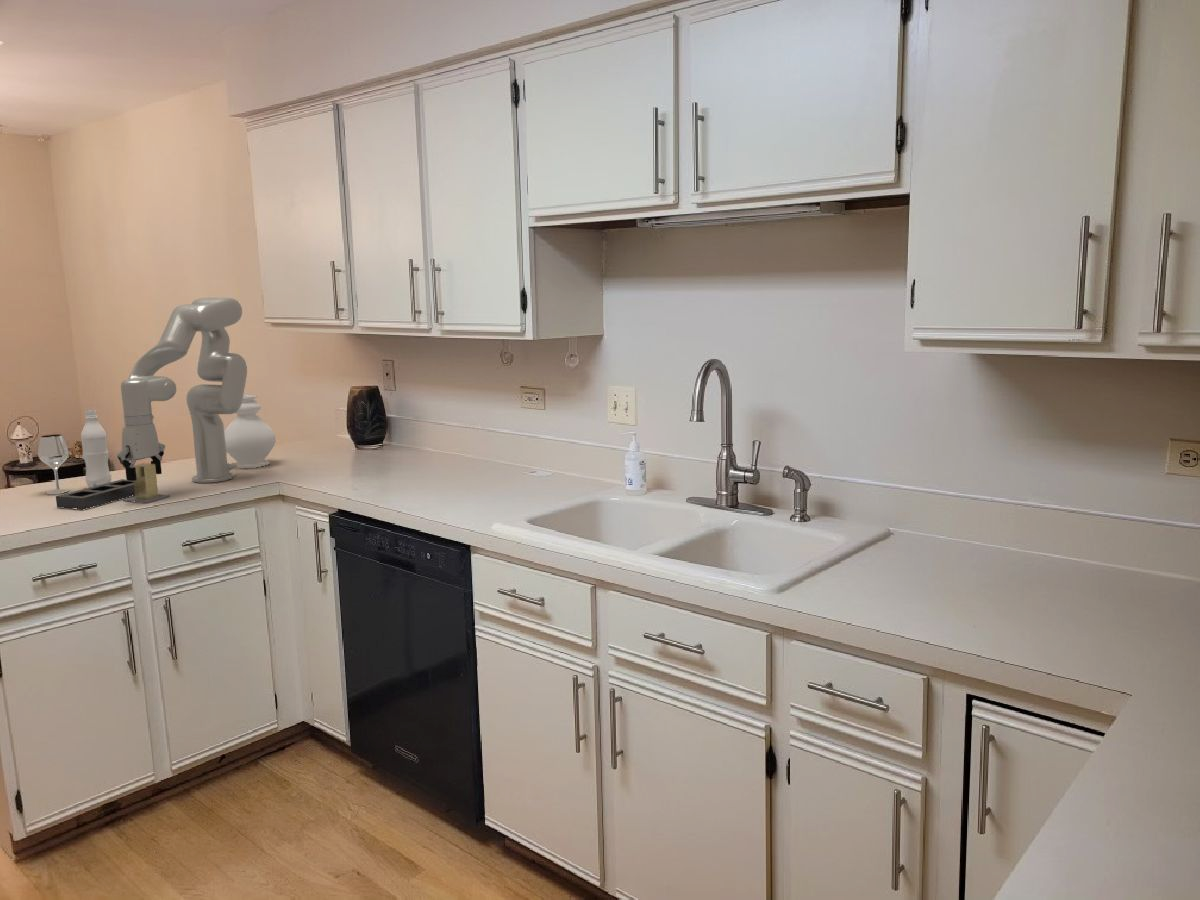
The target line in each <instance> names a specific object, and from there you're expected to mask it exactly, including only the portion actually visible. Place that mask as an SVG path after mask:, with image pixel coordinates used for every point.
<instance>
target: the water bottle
mask: <svg viewBox="0 0 1200 900" xmlns="http://www.w3.org/2000/svg"><path fill="white" fill-rule="evenodd" d="M98 418H99V416H98V413H97V410H96V409H87V410H85V417H84V419H85V424H84V426H83V429H82V430H81V434H80V439H81V447H82V458H83V460H84V463H85V482H86V485H87V487H88V488H90V487H94V486H98V485H102V484H106V483H110V482H112V475H111V472H110V468H109V454H110V453H109V449H108V442H107V441H108V440H107V433H106V431H105V429H104V427H103V426H102V425H101V423H100V421H99V419H98Z"/></svg>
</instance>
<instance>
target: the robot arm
mask: <svg viewBox="0 0 1200 900" xmlns="http://www.w3.org/2000/svg"><path fill="white" fill-rule="evenodd" d="M242 315H243V307H242V305H241V303H240V302H239V301H238V300H237V299H235V298H232V297H201V298H195V299H194V300H193V301H192V302H191V304H180V305H177V306H176V307H175V308H173V310H172V311H171V314H170V316H169V319H168V320H167V323H166V325H165V327H164V330H163V332H162V334H161V336H160V339H159V341H158V342H157V344H155V345H154V346H153V347H152V348H150V349H149V350H148V351H146V352H145V353H144V354H143V355H142V356H141V357H140V358H139V359H138V360H137V361H136V363H135V364H134V366H133V367H132V370H131V372H130V374H129V376H128V379H124V380H122V381H121V383H120V392H121V393H120V394H121V400H122V410H123V421H124V426H122V430H121V451H120V452H118V453H117V454H116V458H117V459H118V461H119V464H121V465H122V467H123V468H124V470H125V478H126V479H125V480H129V481H136V480H137V478H136V468H135V467H133V466H134V465H136V462H137V461H140V460H144V459H148V458H150V459H151V461H150V464H155V468H156V475H162V474H163V473H162V464H161V461H162V460H163V456H164V454H165V449H166V445H165V444H163V443H161V442H159V439H158V432H157V429H156V426H155V423H154V420H153V419H154V415H153V410H152V409H153V408H152V403H153V402H166V401H169V400H171V399H172V398H174V396H176V393H177V384H176V382H175V381H174V380H173V379H172V378H169V377H167V376H160V375H156V376H155V374H156V373H157V372H158V371H159V370H161V369H162V368H164V367H165V366H167V365H169V364H172V363H175V362H176V361H178V360H181V359H183V358H184V357H186V355H187V354H188V352H189V349H190V346H191V344H192V342H193V340H194V338H195V335H196V333H197V332H200V333H201V344H200V345H201V346H200V352H199V356H198V362H197V368H196V371H197V375H198V377H199V378H200V379H202V380H203V381H205V382H206V381H207V382H213V383H215V382H216V383H221V384H197V385H194V386H192V387H190V389H189V390H188V392H187V394H186V404H187V408H188V412H189V415H190V419H191V425H192V434H193V437H192V438H193V445H194V446H193V447H194V457H195V458H194V459H195V467H196V469H195V470H196V474H195V475H193V476H192V477H191V480H192V482H193V483H199V484H201V483H202V484H207V483H208V484H209V483H220V481H221V482H226V481H229V479H230V480H232V479H233V478H234V473H232V472H231V471H232V470H235V469H237V468H236V467H237V465H236V464H235V463H236V462H233V463H229V462H228V457H227V454H228V453H227V451H226V443H225V430H226V429H225V425H224V422H223V419H222V418H221V416H220V415H233V414H236V412H237V411H238V410H239V409H240V407H241V404H242V400H243V395H245V394H244V393H245V387H246V382H247V378H248V377H247V376H248V367H247V362H246V359H244V357H243V356H242V355H241V354H238V353H236V352H235V353H234V352H230V343H231V341H230V335H229V333H228V331H227V330H226V328H228V327H229V326H233V325H235V324H237V323H238V322H239V321H240V320H241V318H242Z"/></svg>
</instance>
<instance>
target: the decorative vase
mask: <svg viewBox="0 0 1200 900" xmlns="http://www.w3.org/2000/svg"><path fill="white" fill-rule="evenodd" d="M257 398H258V397H257V395H256V394H243V400H242V404H241V407H240V409H239V410H238V411H237V412H236V413H235V414H236V415H237V416H236V417H235V418H233V420H232V421H231V422H230V423H229V424H228V426H226V428H225V429H224V430H225V443H226V453H227V454H228V455H229V456H230V457H231V458H233V460H235V462H234V463H235V464H236V465H237V467H236V468H235V469H239V468H249V469H256V468H255V467H259V468H262V467H261V466H264V467H266V466H265V465H267V466H269V465H270V461H268V460H265V459H266V458H267V457H268V456H269V455H270V453H271V451H272V450H273V449H274V447H275V444H276V434H275V432H274V430H273V429H272V427H271V426H270V425H269V424H268V423H267V422H266V421H265V420H264V419H263V418H261V417H260V416H259V415H258V412H259V411H260V410H261V404H260V403H259V402H258V401H256V400H255V399H257ZM268 464H269V465H268Z"/></svg>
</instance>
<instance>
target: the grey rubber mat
mask: <svg viewBox="0 0 1200 900" xmlns="http://www.w3.org/2000/svg"><path fill="white" fill-rule="evenodd" d="M170 495H171V494H162V493H160V494H159V493H158V496H157V497H154V498H151V499H135V496H133V497H129V498H125V499H122V502H123V501H135V502H144V503H143V504H149V503H148V502H150V503H152V502H151V501H154V502H156V501H155V500H157V501H160V500H163V499H162V498H164V499H167V498H170V497H171V496H170ZM166 497H167V498H166ZM159 499H160V500H159ZM135 502H134V503H135Z"/></svg>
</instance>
